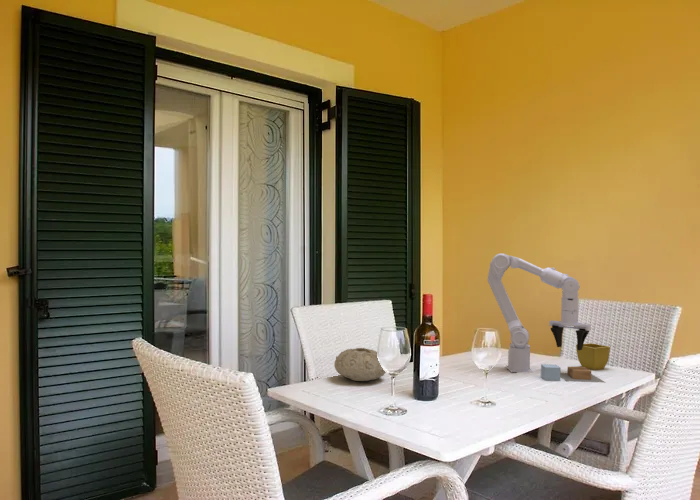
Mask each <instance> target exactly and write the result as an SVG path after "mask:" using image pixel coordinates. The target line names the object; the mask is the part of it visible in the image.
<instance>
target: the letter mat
mask: <svg viewBox="0 0 700 500" xmlns="http://www.w3.org/2000/svg"><path fill="white" fill-rule="evenodd" d="M560 379H562V380H564V381H566V382H581V383H604V384H605V383H607V382H606V381H605V380H603V379H600V377H598V376H596V375H594V374H592V373H591V380H588V379H573V378H571V377H570V376H568V375H567V372H560Z"/></svg>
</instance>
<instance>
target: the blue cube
mask: <svg viewBox="0 0 700 500" xmlns="http://www.w3.org/2000/svg"><path fill="white" fill-rule="evenodd" d="M560 373H561V367H560V366H558V365H557V364H546V363H543V364H540V378H541V379H543V380H544V381H546V382H548V381H549V382H550V381H551V382H560V381H561V377H560Z"/></svg>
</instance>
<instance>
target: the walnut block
mask: <svg viewBox="0 0 700 500" xmlns="http://www.w3.org/2000/svg"><path fill="white" fill-rule="evenodd" d="M566 373H567V375H568V376H570V377H571V378H573V379H588V380H591V374H592V369H587V368H585V367H582V366H567V372H566Z"/></svg>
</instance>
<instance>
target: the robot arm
mask: <svg viewBox="0 0 700 500" xmlns="http://www.w3.org/2000/svg"><path fill="white" fill-rule="evenodd" d="M509 268H510V269H521V270H523V271H525V272H527V273H530V274H533V275H535V276H538V277H539V278H540V281H541V282H542V283H545V284H546V285H548V286H551V287H554V288H556V289H558V290H559V289H561V290H562V291H561V293H562V294H561V295H562V296H561V297H560V298H561V299H560V300H561V307H560V308H561V311H560V320H549V321H548V322H549V325H548V326H549V327H550V331H551V332H552V334H553V337H554V341H555V344H556V347H557V348H561V347H562V346H563V345H562V344H563V332H564V328H565V329H572V330H575V334H576V345H577V349H576V351H577V350H582V347H583V344H585V343H584V342H585V340H586V338H587V337H588V335H589V333H590V331H591V330H592V329H591V328H592V324H587V323H581V322H579V290H580V286H581V285H580V283H579V281H578V280H577V279H576V278H574V277H573V276H569V274H568V273H563V272H560V271H558V270H556V268H555V267H553V266H552V267H544V268H542V267H539V266H538V265H535V264H534V263H531V262H529V261H527V260H524V259H523V258H520V257H517V256H515V255H514V256H512V255H509V254H506V253H503V252H502V253H500V252H499V253H497V254H496V255H494V256H493V258H492V259H491V261H490V263H489V269H488V274H487V282H488V284H489V287H490V289H491V292H492V294H493V296H494V297H495V298H494V299H495V300H496V303H497V305H498V307H499V309H500V311H501V314H502V315H503V318H504V320H505V322H506V324H507V328H508V331H509V333H510V341H511V343H509V348H508V351H507V354H508V355H507V356H508V357H507V365H505V368H506V369H507V370H508V371H509V372H511V373H534V371H533V370H532V369H530V368H531V345H530V344H528V343H529V340H530V333H529V331H528V330H527V329H526V328H525V327H524V325H523V323H522V321H521V320H520V318H519V317H518V314H517V311H516V309H515V308H514V306H513V303H512V300H511V299H510V297H509V295H508V293H507V290H506V288H505V286H504V283H503V281H502V279H503V277H504V275H505V272H506V271H507V270H508V269H509Z"/></svg>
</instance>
